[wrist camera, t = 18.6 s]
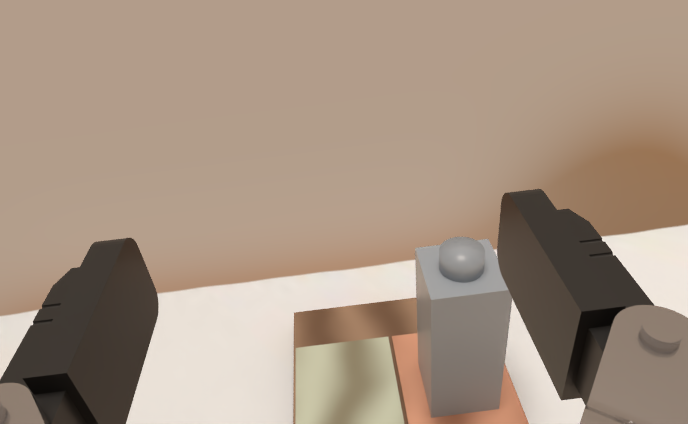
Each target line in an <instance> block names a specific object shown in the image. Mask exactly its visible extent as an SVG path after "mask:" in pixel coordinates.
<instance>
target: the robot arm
mask: <svg viewBox="0 0 688 424" xmlns="http://www.w3.org/2000/svg"><path fill="white" fill-rule="evenodd" d="M497 256H498V264H499V268H500V272H501V275H502V277H503V279H504V282H505V284H506V286H507V288H508V290H509V292H510V294H511V296H512V298H513V300H514V302H515V305H516V307H517V309H518V311H519V313H520V315H521V317H522V319H523V321H524V323H525V326H526V328H527V330H528V332H529V334H530V336H531V338H532V340H533V342H534V344H535V346H536V349H537V351H538V353H539V355H540V357H541V359H542V361H543V363H544V365H545V367H546V369H547V372H548V374H549V376H550V378H551V380H552V382H553V384H554V386H555V388H556V390H557V393H558V395H559V397H560V399H561V400H567V399H575V398H582V399H583V401H584V403H585V405H586V407H585V410H584V413H583V416H582V419H581V422H580V424H688V318H687V317H685V316H683V315H682V314H679V313H677V312H675V311H673V310H670V309H667V308H663V307H659V306H654V304H653V303H652V302H651V301H650V299H649V298H648V297H647V295H646V294H645V293H644V292H643V290H642V289H641V288H640V286H639V285H638V284H637V283H636V281H635V280H634V279H633V277H632V276H631V275H630V274H629V272H628V271H627V270H626V268H625V267H624V266H623V265H622V263H621V262H620V261H619V260H618V258H617V257H616V256H615V255H614V256H613V253H612V251H611V249H610V248H609V247H608V245H607V244H606V243H605V242H602V238H601V236H600V235H599V234H598V233H597V231H596V230H595V229H594V227H593V226H592V225H591V224H590V222H589V221H587V220H585V219H584V218H582V217H580V216H578V215H577V214H576V213H574V212H572V211H571V210H569V209H563V210H557V209H556V208H555V207H554V205H553V204H552V203H551V201H550V200H549V198H548V197H547V195H546V194H545V193H544V192H543V191H542V190H541V189H535V190H527V191H519V192H510V193H505V194H504V195H503V197H502V202H501V213H500V224H499V236H498V246H497ZM157 316H158V297H157V292H156V289H155V287H154V284H153V282H152V279H151V277H150V274H149V272H148V270H147V267H146V265H145V262H144V260H143V257H142V255H141V253H140V250H139V248H138V246H137V243H136V242H135V241H134V240H133V239H132V238H126V239H116V240H109V241H100V242H95V243H93V244H92V245H91V247H90V249H89V251H88V253H87V255H86V257H85V258H84V260H83V262H82V264H81V266H80V267H78V268H72V269H70V271H68V272H67V273H66V274H65V275H64V276H63V277H62V278H61V279H60V280H59V281H58V282H57V283H56V284H55V285H53V287H52V288H51V290H50V292H49V294H48V295H47V298H46V299H45V301H44V303H43V304H42V309H40V310H39V312H38V313H37V315H36V317H35V319H34V321H33V325H31V326H30V328H29V329H28V331H27V333H26V335H25V337H24V338H23V340H22V342H21V344H20V346H19V347H18V349H17V351H16V353H15V355H14V356H13V358H12V360H11V362H10V363H9V365H8V367H7V369H6V371H5V372H4V374H3V376H2V378H1V380H0V424H126V421H127V417H128V414H129V411H130V407H131V404H132V401H133V397H134V394H135V391H136V387H137V384H138V381H139V377H140V374H141V371H142V367H143V364H144V360H145V357H146V354H147V350H148V347H149V344H150V340H151V337H152V334H153V330H154V327H155V324H156V320H157Z"/></svg>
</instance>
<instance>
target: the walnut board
mask: <svg viewBox="0 0 688 424" xmlns="http://www.w3.org/2000/svg"><path fill="white" fill-rule="evenodd" d="M293 424H529V423H528V421H527V418H526V416H525V413H524V411H523V408H522V406H521V403H520V401H519V398H518V396H517V393H516V391H515V388H514V386H513V383H512V381H511V378H510V376H509V373H508V371H507V368H506V366H505V363H504V371H503V380H502V388H501V397H500V405H499V409H495V410H488V411H480V412H472V413H464V414H457V415H449V416H441V417H433V418H431V414H430V410H429V406H428V401H427V397H426V393H425V389H424V385H423V381H422V377H421V373H420V368H419V364H418V336H417V298H410V299H402V300H394V301H386V302H377V303H369V304H361V305H353V306H345V307H337V308H329V309H320V310H312V311H304V312H296V313H294V416H293Z"/></svg>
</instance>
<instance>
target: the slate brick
mask: <svg viewBox="0 0 688 424" xmlns="http://www.w3.org/2000/svg"><path fill="white" fill-rule="evenodd" d="M415 256H416V296H417V336H418V364H419V368H420V373H421V377H422V381H423V385H424V389H425V393H426V397H427V401H428V406H429V410H430V414H431V418H433V417H441V416H449V415H457V414H464V413H472V412H480V411H488V410H495V409H499V405H500V397H501V388H502V380H503V371H504V363H505V355H506V346H507V338H508V329H509V321H510V312H511V304H512V296H511V294H510V292H509V290H508V288H507V286H506V284H505V282H504V279H503V277H502V275H501V272H500V268H499V264H498V258H497V256H496V254H495V252H494V250H493V248H492V246H491V244H490V242H489V240H488V239H484V240H474V239H471V238H468V237H455V238H450V239H448V240H446V241H445V242H443V243H442V244H441V245H436V246H428V247H421V248H415Z"/></svg>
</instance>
